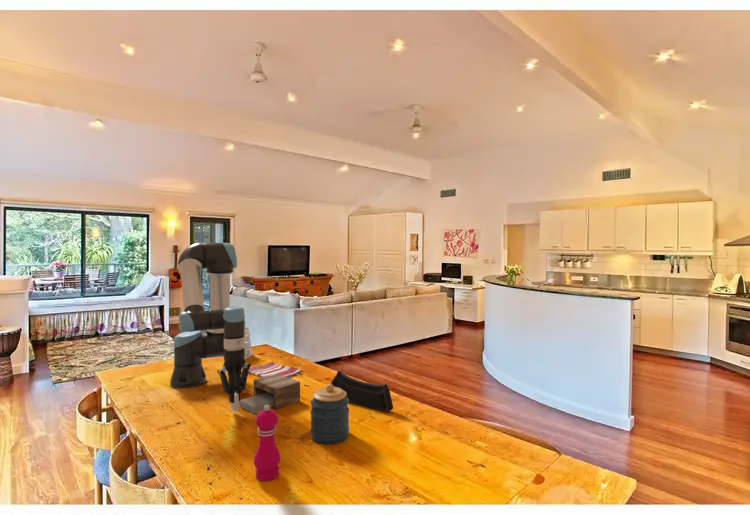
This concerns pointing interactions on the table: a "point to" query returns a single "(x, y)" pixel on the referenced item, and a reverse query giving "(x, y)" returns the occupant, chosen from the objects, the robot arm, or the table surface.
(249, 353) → the grater
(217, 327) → the robot arm
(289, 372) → the dish towel
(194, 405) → the table surface
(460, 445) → the table surface
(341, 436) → the canister
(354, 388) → the magazine
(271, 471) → the pepper mill
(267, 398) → the tile
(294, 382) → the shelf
